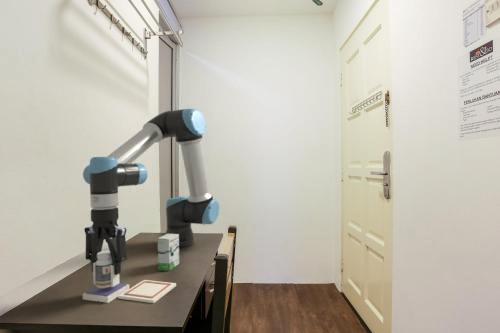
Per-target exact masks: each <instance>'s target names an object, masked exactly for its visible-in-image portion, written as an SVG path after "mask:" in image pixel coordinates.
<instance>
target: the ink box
mask: <svg viewBox="0 0 500 333" xmlns="http://www.w3.org/2000/svg"><path fill="white" fill-rule="evenodd" d="M165 234H166V233H165ZM165 234H164V235H162V236H159V237H158V238H157V271H165V272H166V271H167V272H168V271H172V270H173V269H174V268H176V266H178V265H179V264H180V247H179V234H166V235H165Z"/></svg>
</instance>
